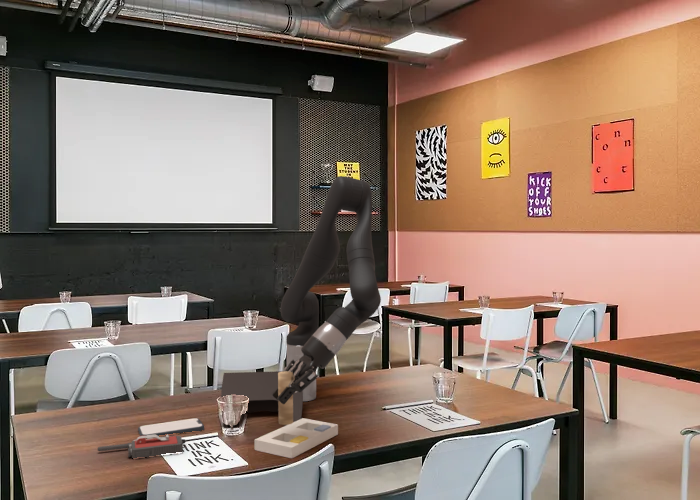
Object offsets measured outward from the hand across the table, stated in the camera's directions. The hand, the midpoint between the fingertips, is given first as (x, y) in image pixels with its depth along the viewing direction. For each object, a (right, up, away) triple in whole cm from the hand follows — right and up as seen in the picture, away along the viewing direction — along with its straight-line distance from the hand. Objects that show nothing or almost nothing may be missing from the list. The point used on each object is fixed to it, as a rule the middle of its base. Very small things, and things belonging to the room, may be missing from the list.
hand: (277, 399), depth 149 cm
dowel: (+2, -6, +1) cm, 6 cm away
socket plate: (+4, -12, +6) cm, 14 cm away
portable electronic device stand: (-7, -12, +26) cm, 30 cm away
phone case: (-30, -12, +15) cm, 36 cm away
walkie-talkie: (-32, -13, -2) cm, 34 cm away
